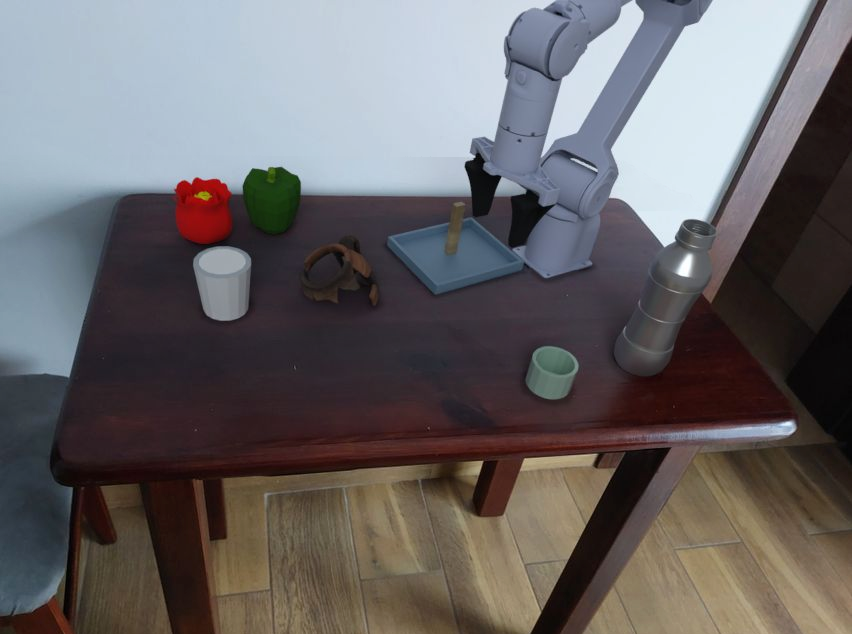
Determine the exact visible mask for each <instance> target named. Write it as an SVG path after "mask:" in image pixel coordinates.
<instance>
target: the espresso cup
mask: <svg viewBox="0 0 852 634" xmlns="http://www.w3.org/2000/svg"><path fill="white" fill-rule="evenodd" d="M579 366H580V364H579V362H578V360H577V358H576V357H575V356H574V355H573V354H572V353H571V352H570V351H568V350H566V349H564V348H562V347H558V346H555V345H554V346H553V345H546V346H545V345H544V346H541V347H538V348H537V349H536V350H535V351H534V352H533V353H532V356H531V358H530V362H529V365H528V367H527V370H526V374H525V379H524V380H525V385H526V386H527V387H528V389H529V390H530V391H531V392H532V393H533V394H535V395H537V396H539V397H541V398H542V399H543V398H544V399H548V400H561V399H563V398H565V397H566V396H568V395H569V393H570V392H571V390H572V387H573V385H574V382H575V379H576V377H577V374H578V371H579Z"/></svg>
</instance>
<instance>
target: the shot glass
mask: <svg viewBox="0 0 852 634" xmlns="http://www.w3.org/2000/svg"><path fill="white" fill-rule="evenodd" d="M192 266H193V267H192V268H193V270H194V276H195V280H196V284H197V288H198V292H199V297H200V301H201V302H200V303H201V306H202V310H203V312H204V313H205V315H206V316H207V317H209V318H210V319H213V320H215V321H221V322H225V321H228V322H229V321H234V320H237V319H239V318H241V317H243V316H244V315H246V313H247V312H248V311H249V303H250V286H251V271H252V258H251V257H250V255H249V254H248V252H246V251H244V250H243V249H241V248H238V247H233V246H229V245H228V246H227V245H225V246H223V245H222V246H221V245H220V246H213V247H209V248H208V247H207V248H206V249H203V250H202V251H200V252H198V253H197V254H196V256H194V258H193V263H192Z"/></svg>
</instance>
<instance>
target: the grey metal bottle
mask: <svg viewBox="0 0 852 634" xmlns="http://www.w3.org/2000/svg"><path fill="white" fill-rule="evenodd" d="M717 235H718V230H717V228H716V227H715V226H714V225H712V224H710V223H709V222H707V221H706V220H705V221H704V220H701V219H696V218H687V219H684V220H683V221H682V222H681V224H680V226H679V228H678V230H677V232H676V233H675V235H674V241H673V242H670V243H669V244H667V245H665V246H664V247H662V248H661V249H659V251H657V253H656V254H654V256H653V257H652V258H651V261H650V263H649V266H648V270H647V275H646V279H645V282H644V286H643V289H642V292H641V294H640V298H639V301H638V303H637V306H636V308H635V310H634V311H633V313H632V315H631V317H630V319H629V320H628V322H627V324H626V325H625V326H624V328H623V329H622V330H621V332H620V333H619V334H618V336H617V338H616V340H615V342H614V348H613V356H614V359H615V362H616V363H617V365H618V366H619V367H620V368H621V369H622V370H623V371H625V372H627V373H629V374H631V375H633V376H638V377H642V378H643V377H644V378H645V377H653V376H655V375H657V374H659V373H661V372H662V371H663V370H664V369H665V368H666V367H667V366H668V364H669V363H670V361H671V359H672V356H673V352H674V347H675V343H676V341H677V338H678V335H679V332H680V330H681V327H682V324H683V323H684V322H685V319H686V317H687V316H688V314H689V313H690V311H691V309H692V307H693V306H694V304H695V303H696V302H697V301H698V299H699V297H700V296H701V295H702V294H703V292H704V291H705V290H706V288H707V287H708V285H709V284H710V282H711V280H712V277H713V264H712V259H711V257H710V255H709V252H708V251H711V249H712V248H713V246H714V241H715V240H716V237H717Z"/></svg>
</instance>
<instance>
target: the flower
mask: <svg viewBox="0 0 852 634" xmlns="http://www.w3.org/2000/svg"><path fill="white" fill-rule="evenodd" d="M173 191H174V192H175V195H173V199H174V200H175V203H176V205H175V212H174V213H175V214H174V215H175V221H176V226H177V230H178V232H179V234H180V235H181V236H182V237H183V238H184V239H185V240H187V241H189V242H192V243H195V244H200V245H211V244H214V243H217V242H221V241H224V240H225V239H227V238H228V237H229V236H230V234H231V233H232V230H233V217H232V212H231V209H230V206H229V205H230V199H231V198H232V194H233V193H232V191H230V190H229V188H228V185H227V183H225V182H221V179H218V178H209V179H202V178H200V177H198V176H197V177H194V178H193V179H192V182H190V181H188V180H186V179H183V180H181V181H179V182H178V183H177V184H176V187H175V188H173Z"/></svg>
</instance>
